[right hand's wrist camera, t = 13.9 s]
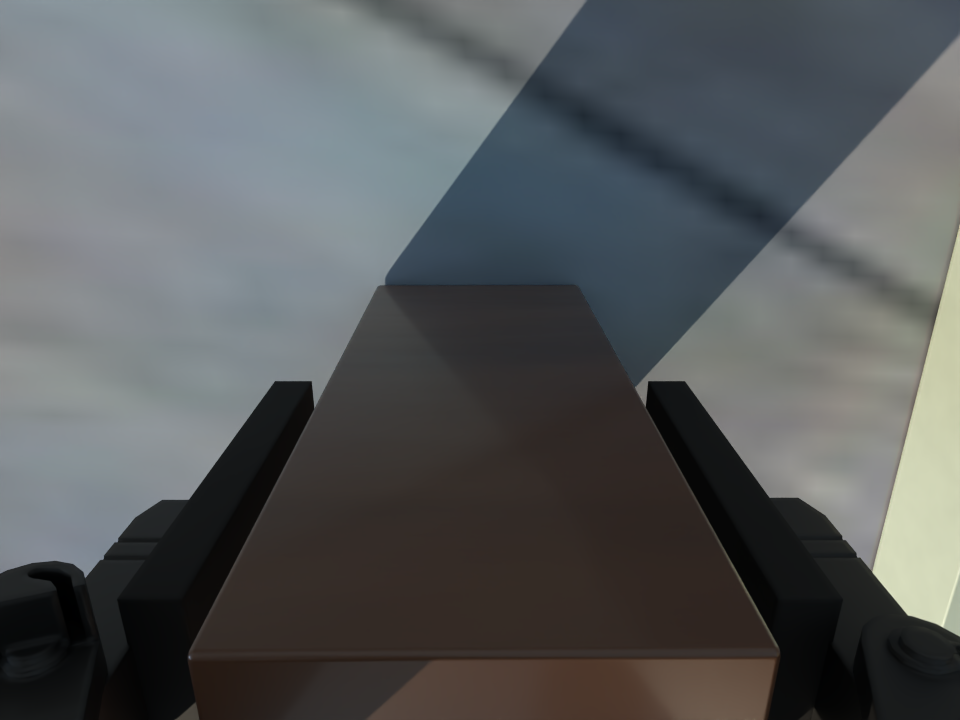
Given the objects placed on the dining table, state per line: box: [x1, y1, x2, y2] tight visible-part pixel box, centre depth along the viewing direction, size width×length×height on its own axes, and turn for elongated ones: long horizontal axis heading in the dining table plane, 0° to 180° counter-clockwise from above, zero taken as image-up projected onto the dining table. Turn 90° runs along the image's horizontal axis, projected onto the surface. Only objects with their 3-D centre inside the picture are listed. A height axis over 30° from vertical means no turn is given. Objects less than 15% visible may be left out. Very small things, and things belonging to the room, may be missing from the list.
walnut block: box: [188, 285, 780, 720], centre depth 12 cm, size 5×5×12 cm
